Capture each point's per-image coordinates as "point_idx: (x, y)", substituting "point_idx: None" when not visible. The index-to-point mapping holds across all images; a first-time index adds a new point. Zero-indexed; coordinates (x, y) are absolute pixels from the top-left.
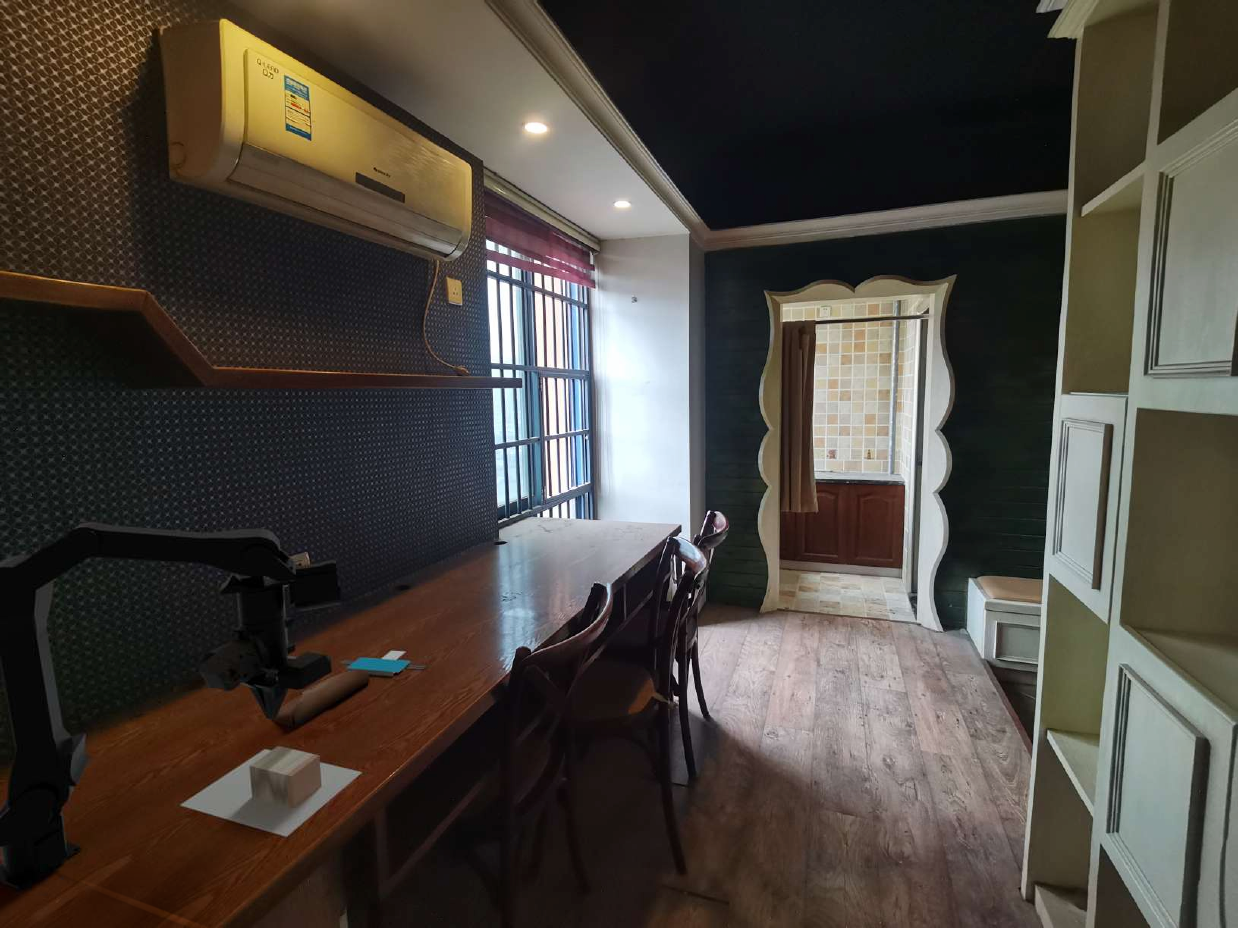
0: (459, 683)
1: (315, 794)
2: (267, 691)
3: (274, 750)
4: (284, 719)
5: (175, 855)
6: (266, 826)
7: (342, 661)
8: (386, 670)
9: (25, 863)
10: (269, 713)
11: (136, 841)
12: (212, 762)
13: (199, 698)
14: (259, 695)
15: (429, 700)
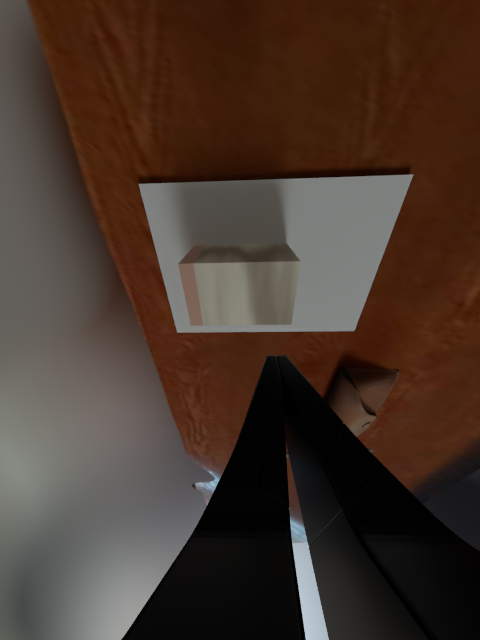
0: (217, 447)
1: None
2: (236, 515)
3: (287, 312)
4: (366, 377)
5: (308, 35)
6: (196, 192)
7: (371, 451)
8: None
9: None
10: (266, 371)
11: (445, 30)
12: (425, 288)
13: None
14: (321, 456)
15: (223, 428)
